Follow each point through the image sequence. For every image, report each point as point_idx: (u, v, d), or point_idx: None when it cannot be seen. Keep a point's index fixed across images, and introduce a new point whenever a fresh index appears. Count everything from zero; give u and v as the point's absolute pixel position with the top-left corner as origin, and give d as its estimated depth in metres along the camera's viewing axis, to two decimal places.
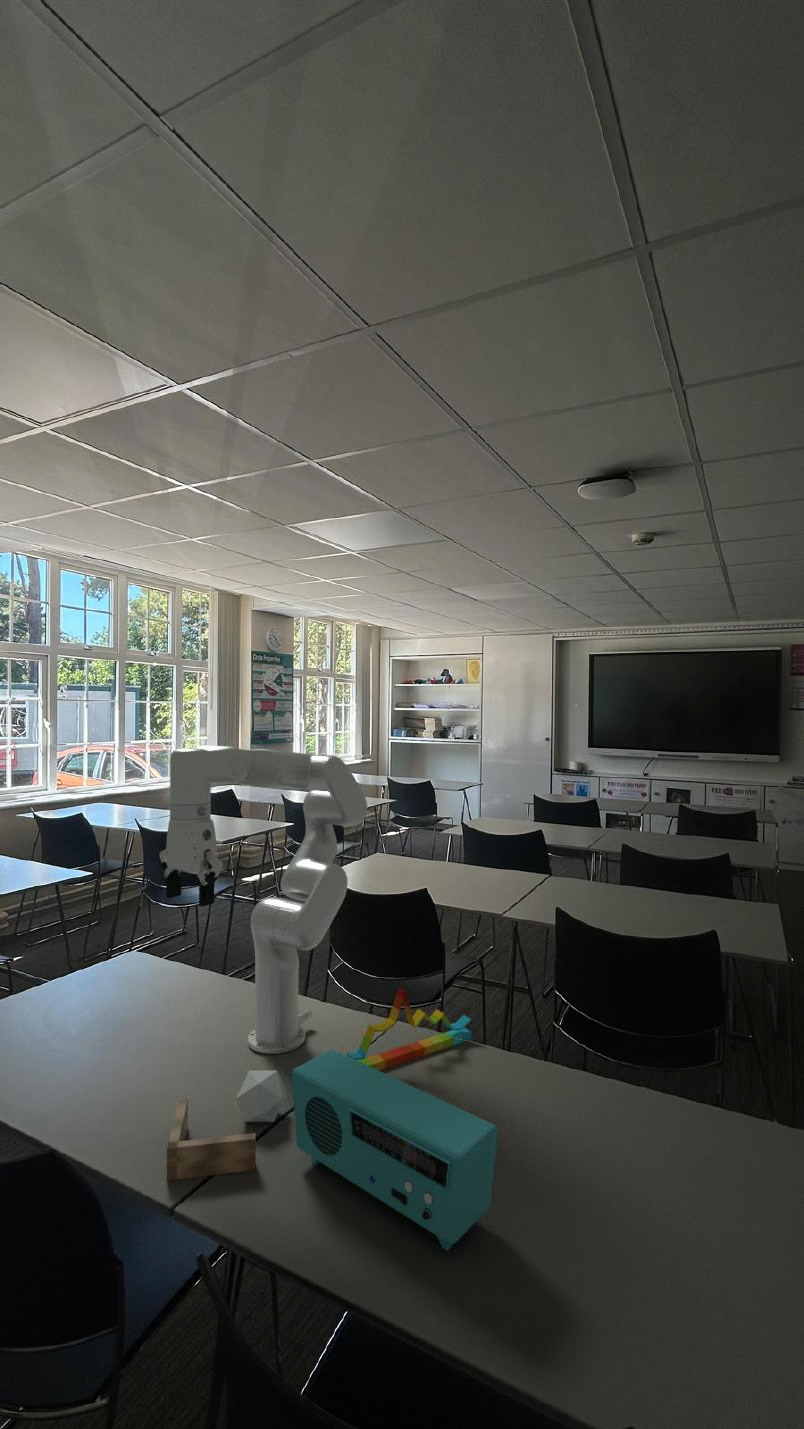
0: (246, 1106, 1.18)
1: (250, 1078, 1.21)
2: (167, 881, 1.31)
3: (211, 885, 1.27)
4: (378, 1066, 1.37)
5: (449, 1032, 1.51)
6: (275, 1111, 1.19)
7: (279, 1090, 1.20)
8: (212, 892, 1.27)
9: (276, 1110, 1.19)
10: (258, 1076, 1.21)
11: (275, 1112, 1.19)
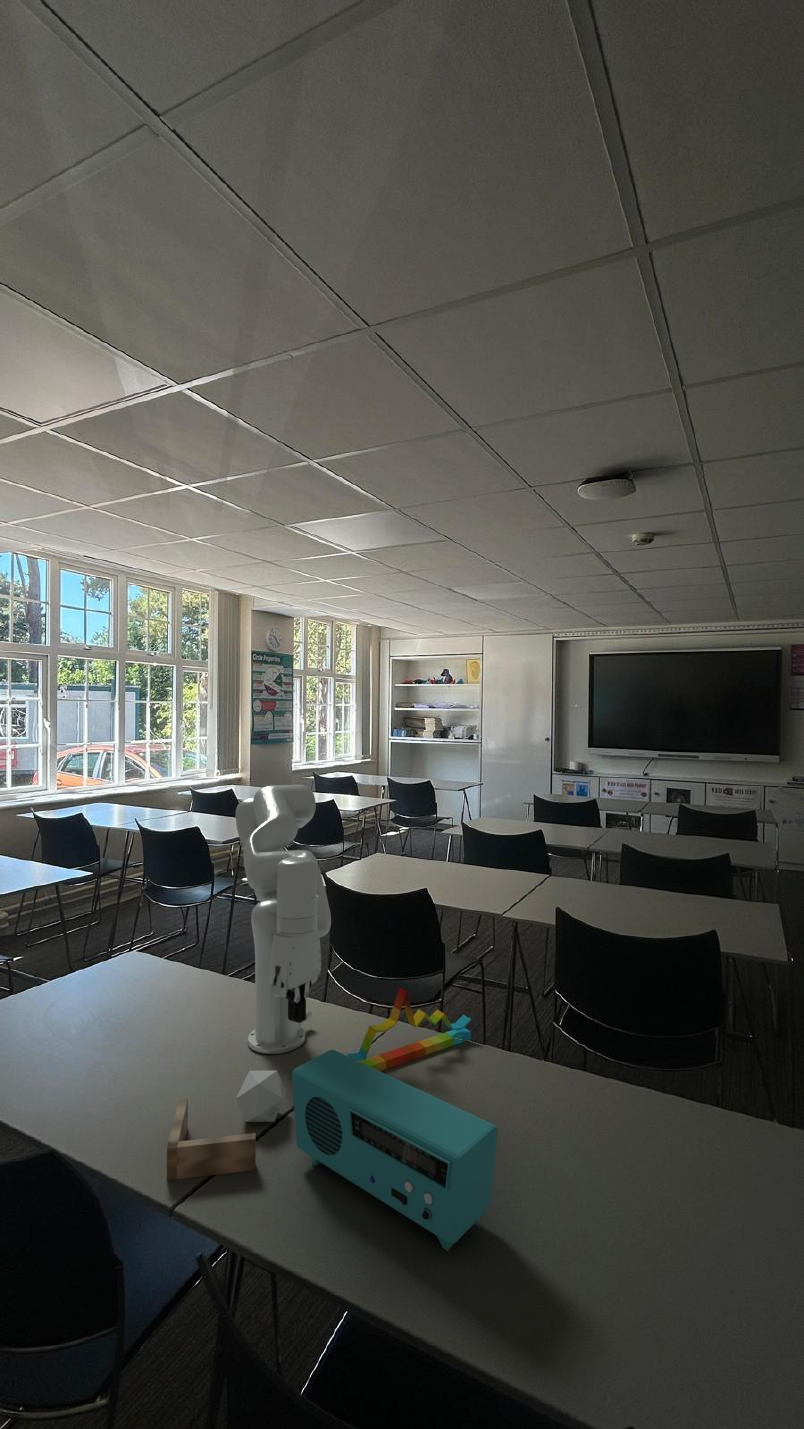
0: (246, 1106, 1.18)
1: (250, 1078, 1.21)
2: (301, 1004, 1.27)
3: None
4: (379, 1067, 1.37)
5: (449, 1032, 1.51)
6: (275, 1111, 1.19)
7: (279, 1090, 1.20)
8: None
9: (276, 1110, 1.19)
10: (258, 1076, 1.21)
11: (275, 1112, 1.19)
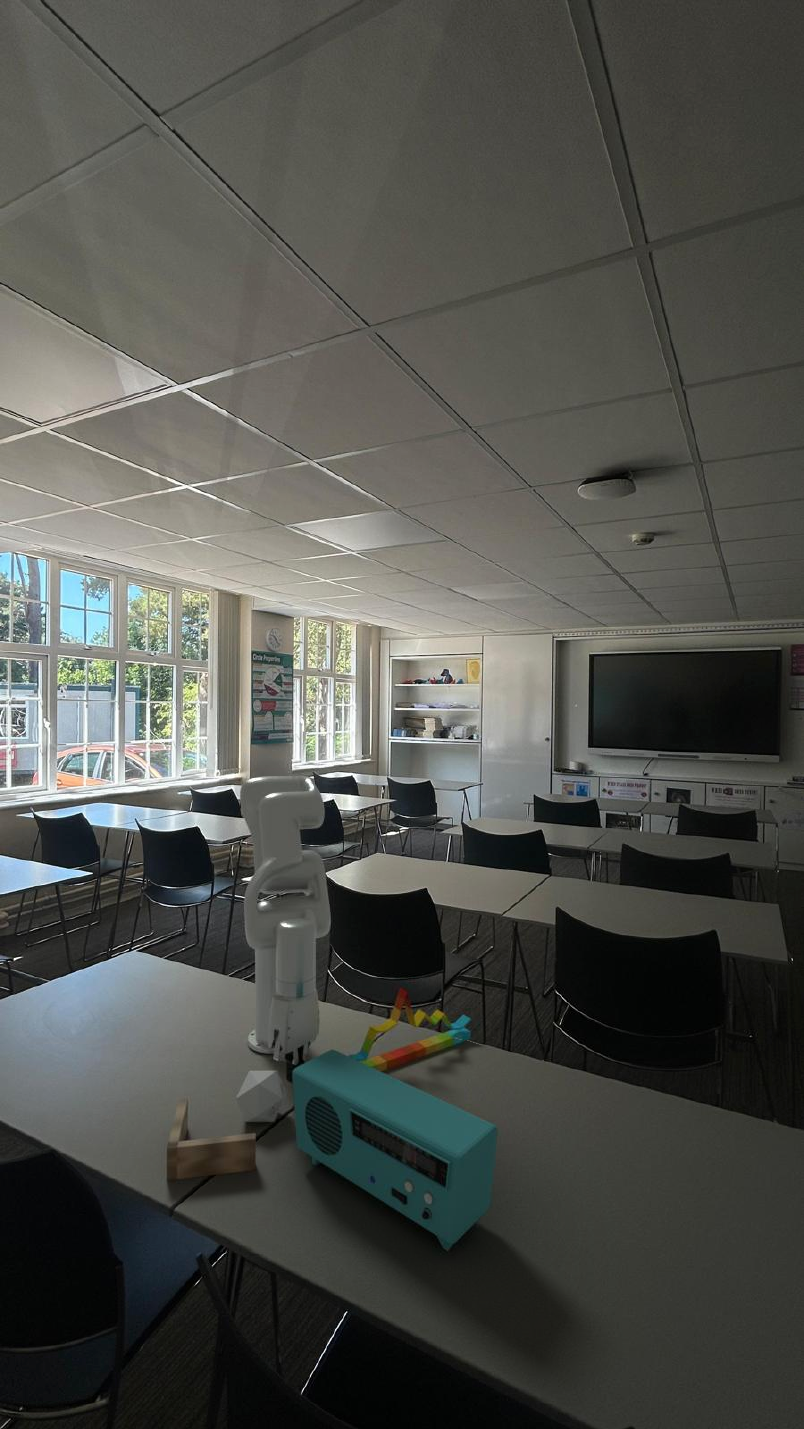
0: (246, 1106, 1.18)
1: (250, 1078, 1.21)
2: None
3: None
4: (380, 1068, 1.37)
5: (449, 1032, 1.51)
6: (275, 1111, 1.19)
7: (279, 1090, 1.20)
8: None
9: (276, 1110, 1.19)
10: (258, 1076, 1.21)
11: (275, 1112, 1.19)
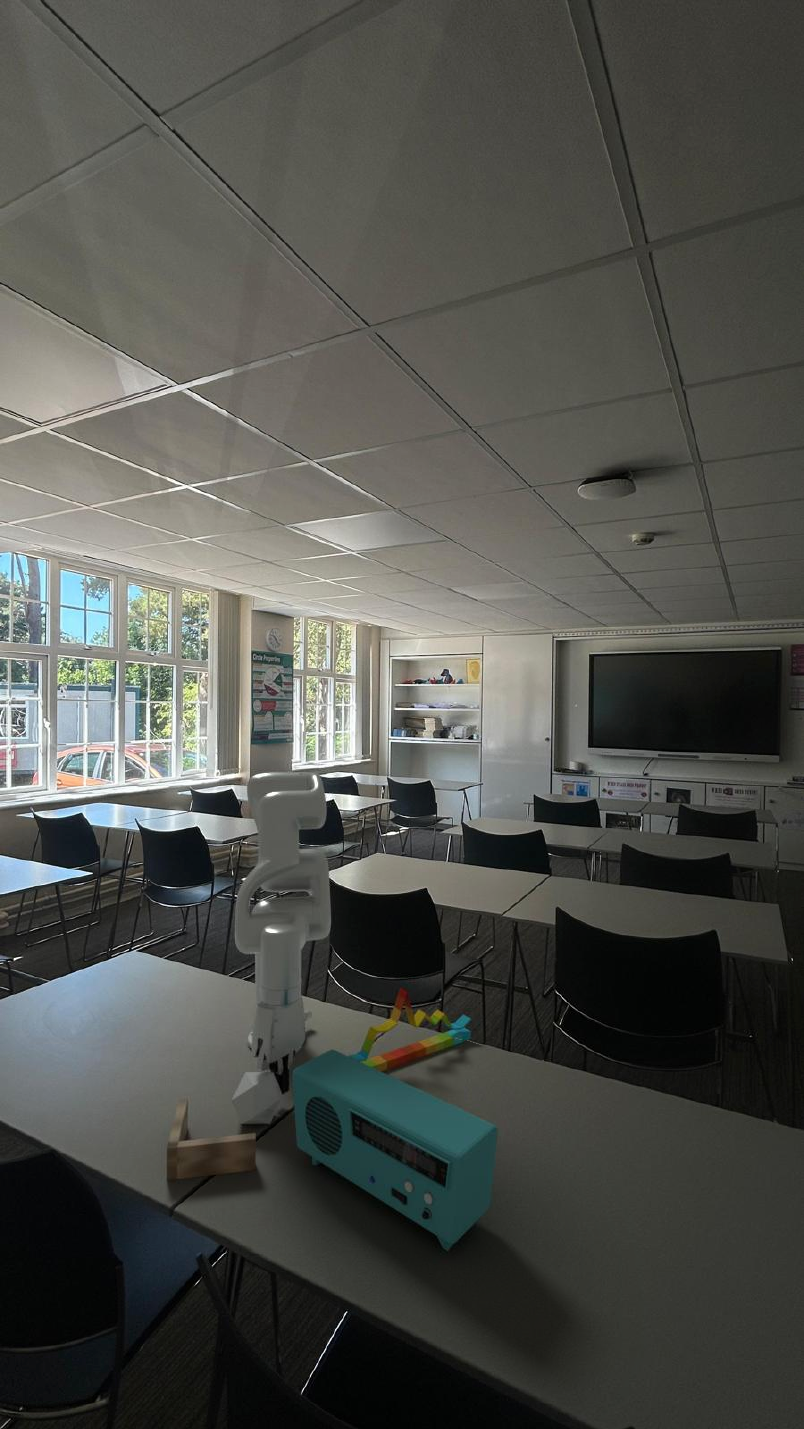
0: (241, 1108, 1.17)
1: (246, 1080, 1.20)
2: (284, 1076, 1.24)
3: None
4: (380, 1068, 1.37)
5: (449, 1032, 1.51)
6: (271, 1113, 1.18)
7: (275, 1092, 1.19)
8: None
9: (272, 1112, 1.19)
10: (254, 1078, 1.20)
11: (271, 1114, 1.19)
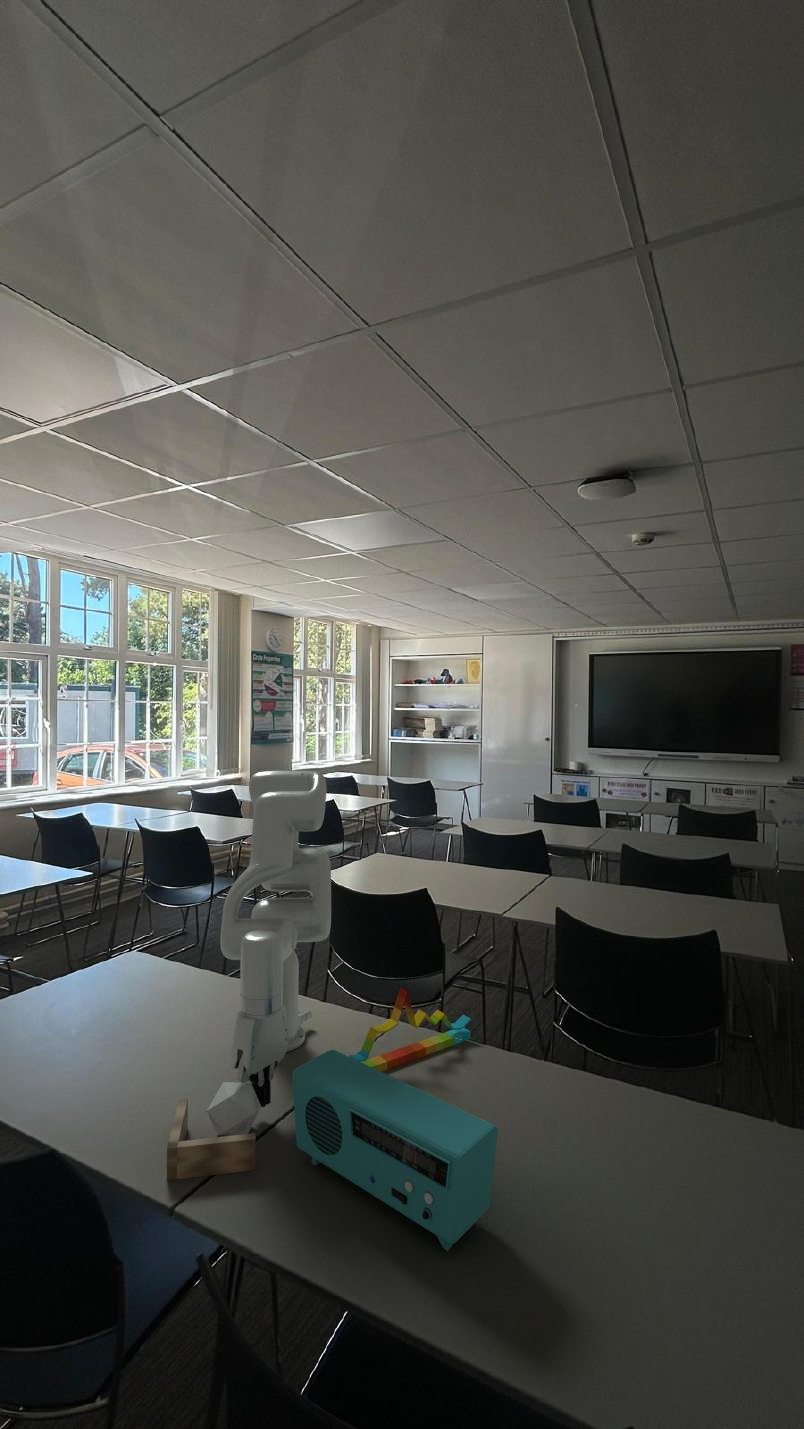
0: (216, 1119, 1.14)
1: (223, 1090, 1.17)
2: (265, 1088, 1.20)
3: None
4: (380, 1068, 1.37)
5: (449, 1032, 1.51)
6: (246, 1126, 1.15)
7: (251, 1104, 1.15)
8: None
9: (247, 1125, 1.15)
10: (231, 1089, 1.16)
11: (246, 1127, 1.15)
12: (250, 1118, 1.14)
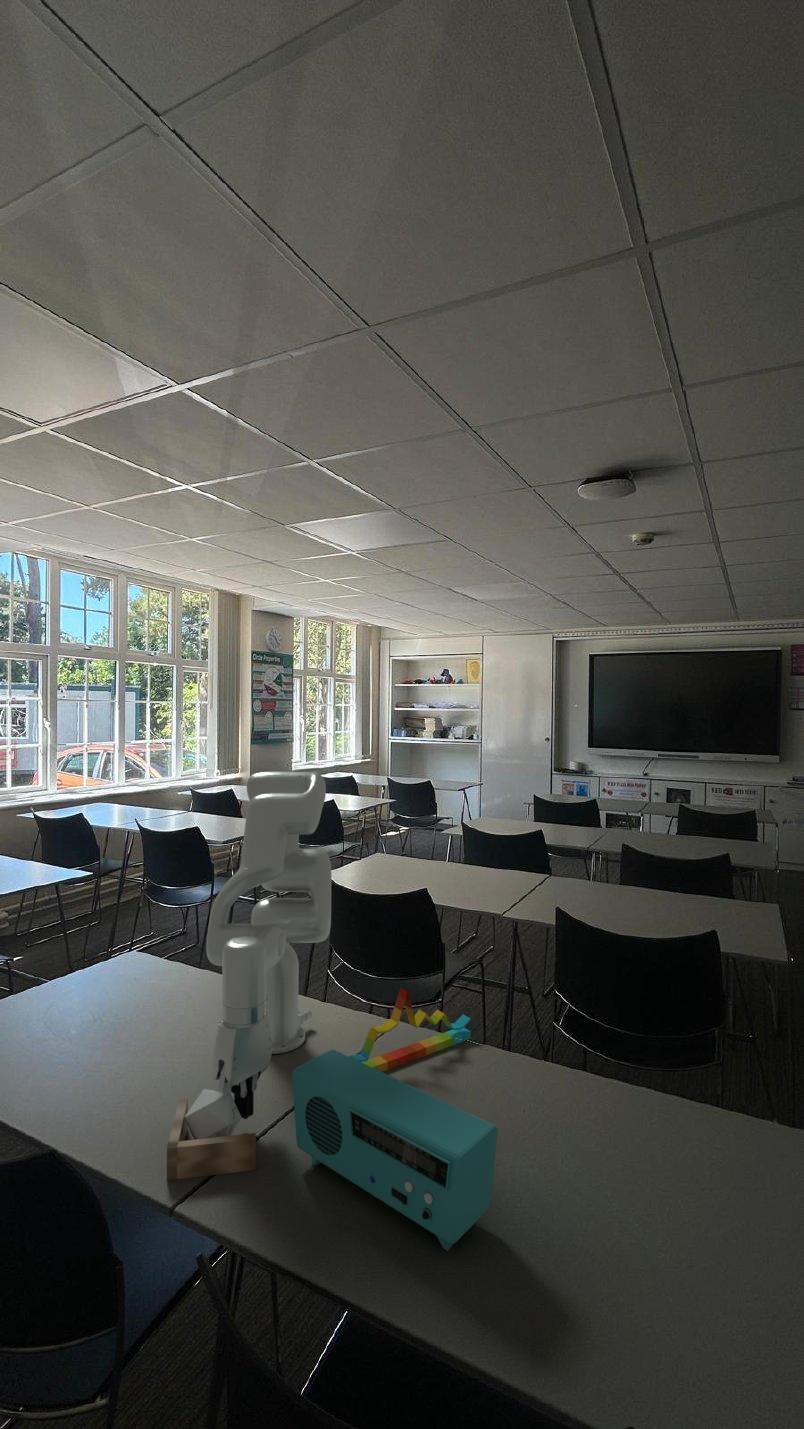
0: (191, 1128, 1.12)
1: (201, 1098, 1.14)
2: (248, 1099, 1.17)
3: None
4: (381, 1068, 1.37)
5: (449, 1031, 1.51)
6: None
7: (227, 1116, 1.12)
8: None
9: (223, 1136, 1.12)
10: (208, 1097, 1.14)
11: None
12: (225, 1130, 1.11)
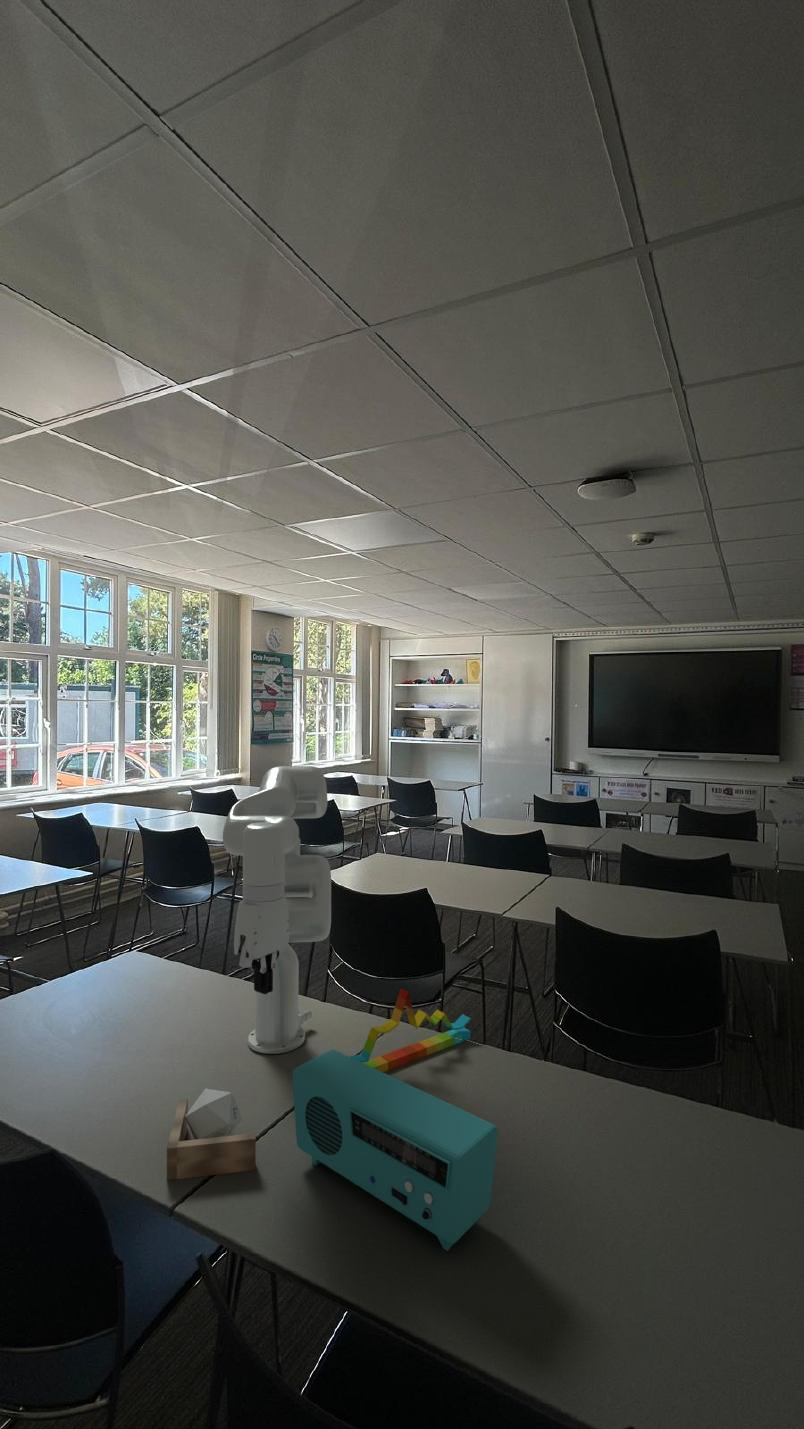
0: (192, 1126, 1.12)
1: (202, 1097, 1.15)
2: (267, 975, 1.22)
3: None
4: (381, 1068, 1.37)
5: (449, 1031, 1.51)
6: (222, 1136, 1.12)
7: (228, 1114, 1.12)
8: None
9: (223, 1135, 1.12)
10: (210, 1096, 1.14)
11: None
12: (226, 1129, 1.12)
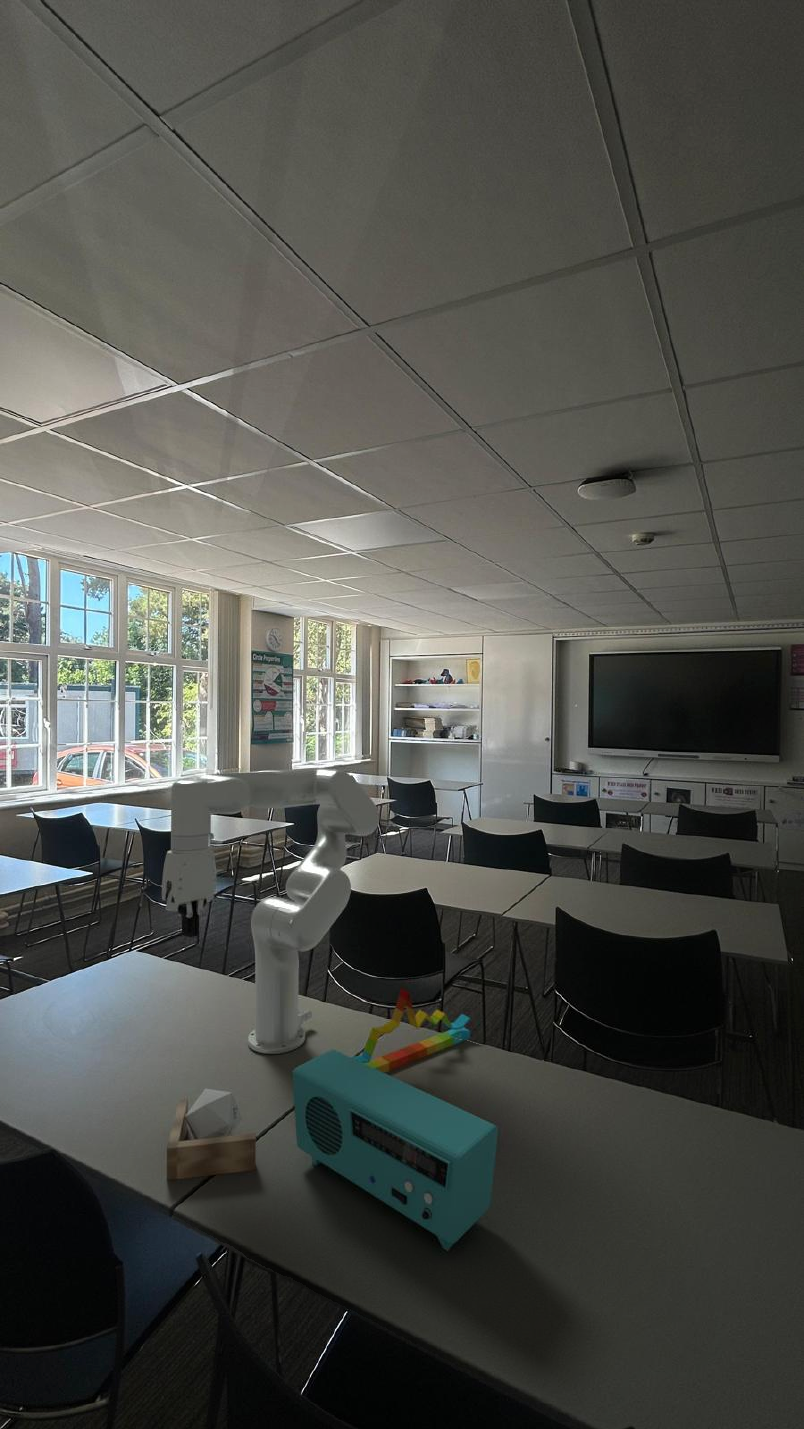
0: (192, 1126, 1.12)
1: (202, 1097, 1.15)
2: (193, 920, 1.31)
3: None
4: (382, 1069, 1.36)
5: (449, 1031, 1.51)
6: (222, 1136, 1.12)
7: (228, 1115, 1.12)
8: None
9: (223, 1136, 1.12)
10: (210, 1096, 1.14)
11: None
12: (226, 1129, 1.12)
